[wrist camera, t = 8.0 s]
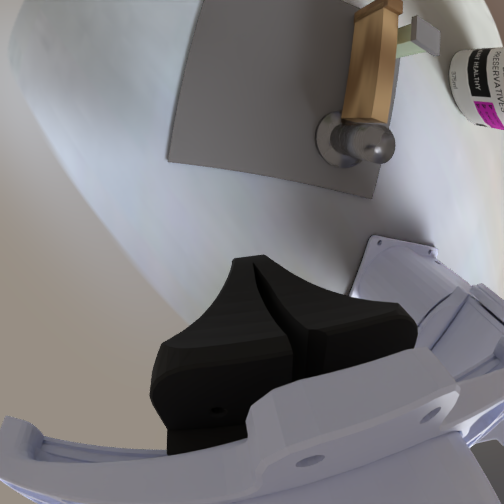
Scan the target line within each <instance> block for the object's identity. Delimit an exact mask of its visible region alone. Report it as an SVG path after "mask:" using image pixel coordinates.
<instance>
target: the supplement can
mask: <svg viewBox="0 0 504 504" xmlns="http://www.w3.org/2000/svg"><path fill="white" fill-rule="evenodd" d="M449 81H450V87H451V91H452V95H453V97H454V99H455V102H456V104H457V106H458V107H459V109H460V110H461V112H462V113H463V114H464V116H465V117H466V118H467V120H469V121H470V122H472V123H473V124H474V125H479V126H485V127H491V128H496V129H501V130H504V47H500V48H482V49H471V50H462V51H459V52H456V54H455V55H454V57H453V58H452V61H451V64H450V70H449Z"/></svg>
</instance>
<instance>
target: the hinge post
mask: <svg viewBox="0 0 504 504" xmlns="http://www.w3.org/2000/svg"><path fill="white" fill-rule="evenodd" d="M342 111H343V110H339V111H333V112H330V113H328V114H326V115H325V116H324V117H323V118H322V119H321V120H320V121H319V123H318V125H317V127H316V131H315V144H316V148H317V150H318V152H319V154H320V156H321V157H322V158H323V159H324V160H325V161H326V162H327V163H329V164H331V165H333V166H336V167H339V168H350V167H353V166H356V165H357V164H359V163H360V162H361V161H362V160H365V161H369V162H372V163H376V164H383V163H386V162H388V161H389V160H390V159H391V158H392V156H393V154H394V151H395V139H394V136H393V134H392V132H391V131H390V130H389V129H388V128H387V127H385V126H383V125H378V124H365V123H360V122H352V121H349V120H346V119H343V118H341V117H342Z"/></svg>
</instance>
